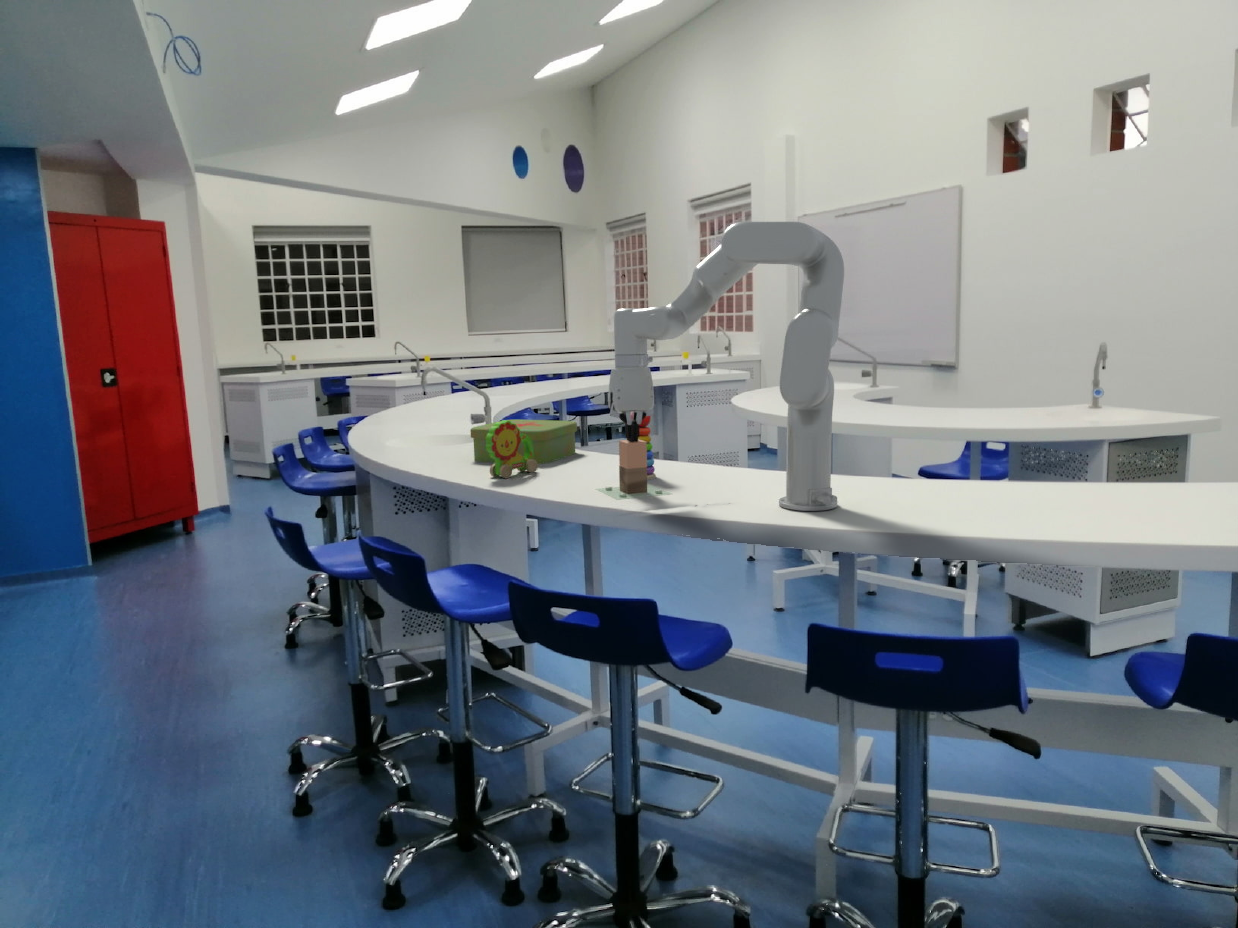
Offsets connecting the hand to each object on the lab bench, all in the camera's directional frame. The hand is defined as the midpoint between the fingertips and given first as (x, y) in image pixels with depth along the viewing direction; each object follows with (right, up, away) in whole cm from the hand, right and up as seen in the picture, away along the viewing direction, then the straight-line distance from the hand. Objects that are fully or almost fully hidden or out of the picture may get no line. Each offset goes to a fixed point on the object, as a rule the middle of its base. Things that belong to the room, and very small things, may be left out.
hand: (632, 440), depth 207 cm
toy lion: (-32, -9, +33) cm, 47 cm away
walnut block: (0, -12, +2) cm, 12 cm away
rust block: (0, -6, +1) cm, 6 cm away
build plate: (0, -13, +2) cm, 13 cm away
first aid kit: (-32, -3, +66) cm, 74 cm away
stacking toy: (+2, -10, +21) cm, 23 cm away
